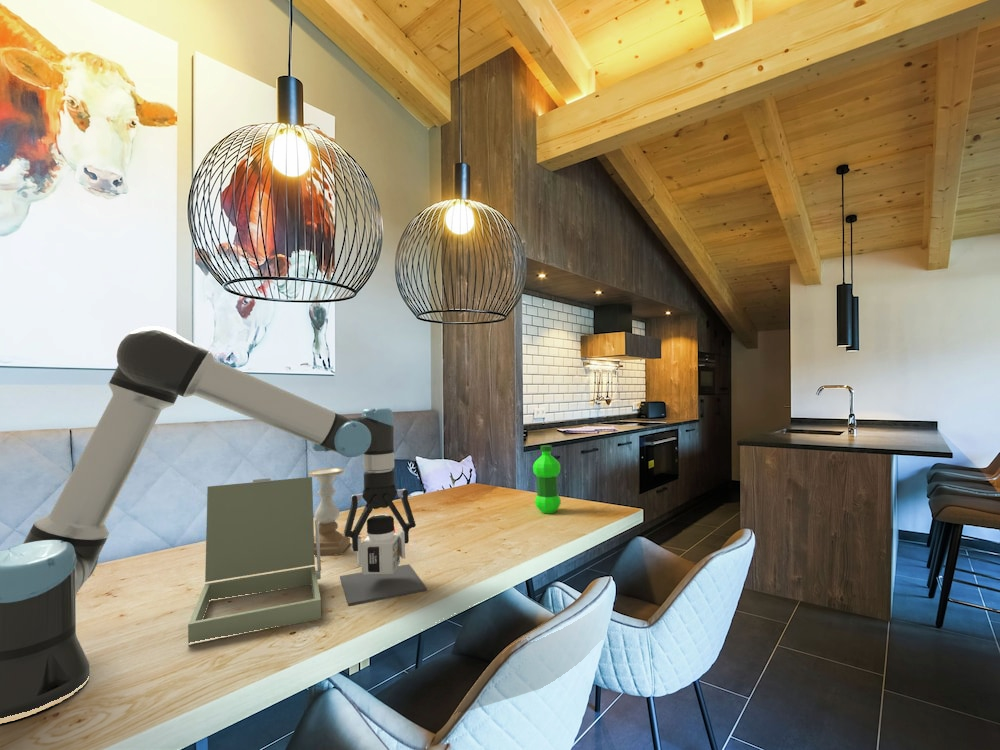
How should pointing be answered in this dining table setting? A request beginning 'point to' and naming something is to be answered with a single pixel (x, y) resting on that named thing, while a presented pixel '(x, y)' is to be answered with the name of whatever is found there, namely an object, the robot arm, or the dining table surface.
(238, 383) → the robot arm
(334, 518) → the candle holder
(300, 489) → the lid
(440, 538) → the dining table surface
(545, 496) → the plastic bottle
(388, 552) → the container
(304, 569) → the case
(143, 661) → the dining table surface
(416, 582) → the mat
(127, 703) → the dining table surface
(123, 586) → the dining table surface
